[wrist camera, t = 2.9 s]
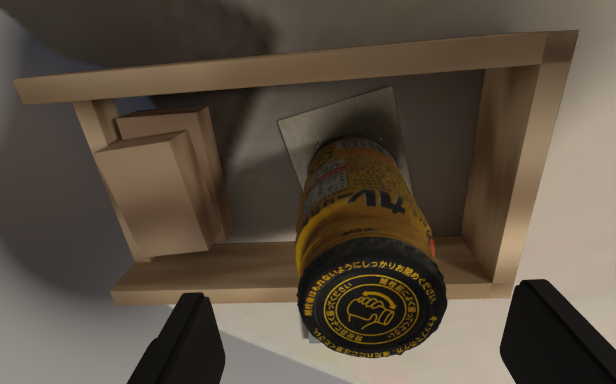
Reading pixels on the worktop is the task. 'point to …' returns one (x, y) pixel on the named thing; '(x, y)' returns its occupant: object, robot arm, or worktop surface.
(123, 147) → the offcut upper
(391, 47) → the rack
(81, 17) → the worktop surface
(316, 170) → the condiment
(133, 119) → the offcut lower
